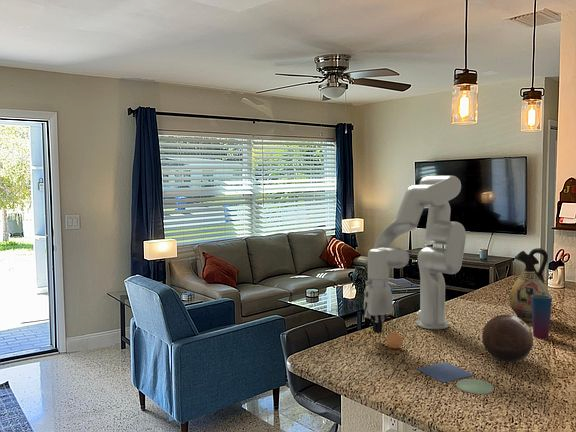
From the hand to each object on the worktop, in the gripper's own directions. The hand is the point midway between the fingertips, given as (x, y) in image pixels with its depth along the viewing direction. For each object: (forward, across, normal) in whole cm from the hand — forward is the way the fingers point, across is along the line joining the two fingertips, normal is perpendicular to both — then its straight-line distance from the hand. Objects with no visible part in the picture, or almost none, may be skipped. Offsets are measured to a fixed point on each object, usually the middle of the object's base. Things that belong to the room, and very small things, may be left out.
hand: (377, 332), depth 185 cm
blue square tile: (+3, +1, -34) cm, 35 cm away
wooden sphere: (+3, +25, -36) cm, 44 cm away
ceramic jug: (+2, +72, -7) cm, 72 cm away
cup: (+2, +56, -24) cm, 61 cm away
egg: (0, +1, -9) cm, 9 cm away
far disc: (+4, +1, -46) cm, 47 cm away
